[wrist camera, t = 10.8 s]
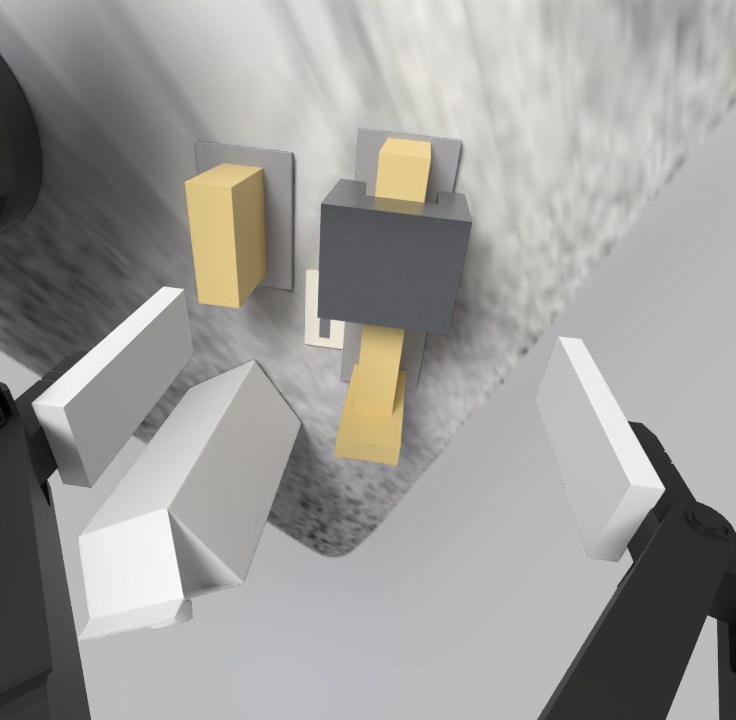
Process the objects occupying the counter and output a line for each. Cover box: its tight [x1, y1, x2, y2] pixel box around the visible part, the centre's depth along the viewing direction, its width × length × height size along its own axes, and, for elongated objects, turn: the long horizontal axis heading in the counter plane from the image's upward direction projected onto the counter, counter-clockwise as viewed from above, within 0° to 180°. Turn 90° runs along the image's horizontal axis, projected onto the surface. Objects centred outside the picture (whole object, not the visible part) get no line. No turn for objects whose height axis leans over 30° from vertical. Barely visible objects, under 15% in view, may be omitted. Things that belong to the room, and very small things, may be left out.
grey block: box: [317, 179, 472, 335], centre depth 25 cm, size 7×6×6 cm
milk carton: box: [78, 360, 301, 641], centre depth 32 cm, size 7×7×19 cm
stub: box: [184, 141, 293, 308], centre depth 29 cm, size 6×9×6 cm, turn 175°
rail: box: [335, 128, 462, 465], centre depth 28 cm, size 6×18×9 cm, turn 175°
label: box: [305, 270, 345, 349], centre depth 34 cm, size 3×6×1 cm, turn 175°
